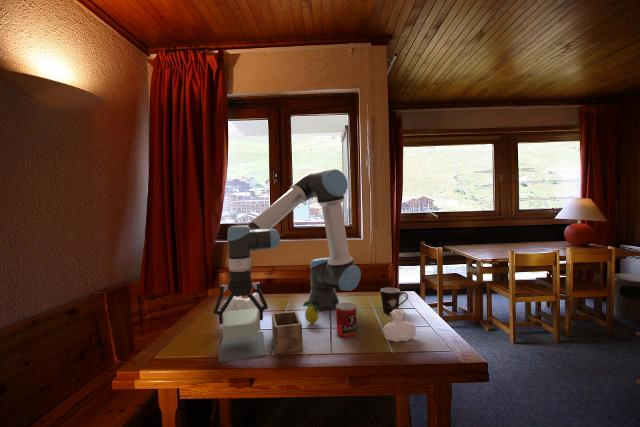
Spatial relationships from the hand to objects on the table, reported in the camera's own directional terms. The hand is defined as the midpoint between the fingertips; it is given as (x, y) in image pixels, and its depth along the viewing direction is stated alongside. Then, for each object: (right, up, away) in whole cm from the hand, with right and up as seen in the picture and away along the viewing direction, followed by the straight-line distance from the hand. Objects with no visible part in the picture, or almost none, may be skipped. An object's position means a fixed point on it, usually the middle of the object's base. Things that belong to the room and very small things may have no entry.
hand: (241, 330), depth 117 cm
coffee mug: (+61, -3, +30) cm, 68 cm away
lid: (0, +1, 0) cm, 1 cm away
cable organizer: (-5, -5, +23) cm, 24 cm away
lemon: (+24, -4, +20) cm, 31 cm away
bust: (+56, -4, +3) cm, 57 cm away
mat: (0, -5, 0) cm, 5 cm away
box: (+16, -5, +2) cm, 17 cm away
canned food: (+38, -4, +8) cm, 39 cm away
